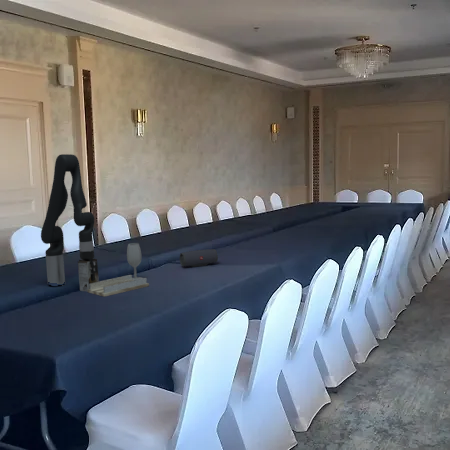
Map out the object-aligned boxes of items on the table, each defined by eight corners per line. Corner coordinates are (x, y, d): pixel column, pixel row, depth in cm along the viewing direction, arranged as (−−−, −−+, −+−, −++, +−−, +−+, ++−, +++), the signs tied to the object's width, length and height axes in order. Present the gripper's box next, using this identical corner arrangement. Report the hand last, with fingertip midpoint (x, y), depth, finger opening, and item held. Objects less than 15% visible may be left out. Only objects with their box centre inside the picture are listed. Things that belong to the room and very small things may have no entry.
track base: (87, 292, 292) (87, 283, 292) (131, 282, 312) (131, 274, 311) (104, 296, 281) (103, 288, 280) (148, 286, 300) (148, 277, 300)
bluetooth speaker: (184, 269, 341) (183, 253, 340) (179, 266, 350) (178, 251, 349) (218, 264, 350) (217, 249, 349) (212, 262, 359) (212, 247, 358)
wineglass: (143, 281, 312) (141, 244, 310) (127, 282, 311) (125, 245, 308) (143, 278, 321) (141, 242, 318) (128, 279, 319) (125, 243, 317)
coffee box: (89, 287, 304) (87, 258, 302) (99, 287, 301) (97, 258, 299) (79, 291, 296) (77, 261, 294) (89, 291, 293) (87, 261, 291)
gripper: (73, 249, 298) (76, 279, 300) (87, 251, 288) (89, 282, 290) (86, 247, 304) (88, 276, 306) (100, 249, 293) (102, 279, 295)
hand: (89, 279), depth 298 cm, fingers closed on coffee box, 8 cm apart
